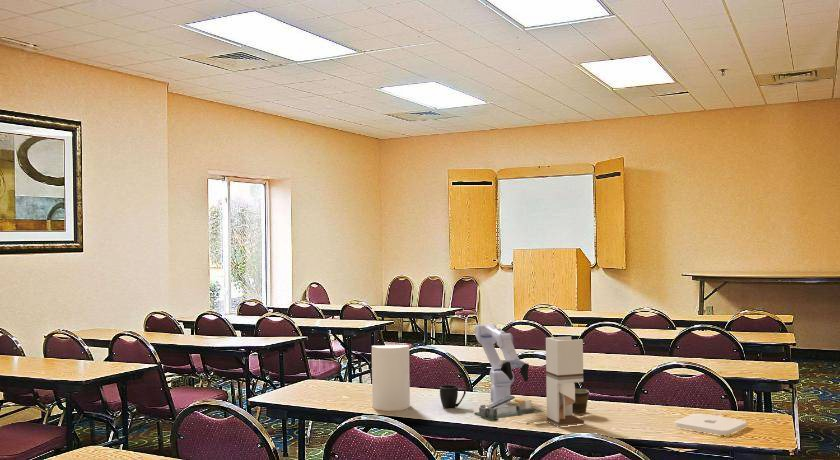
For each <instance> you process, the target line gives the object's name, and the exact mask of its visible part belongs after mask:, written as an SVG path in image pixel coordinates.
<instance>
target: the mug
mask: <svg viewBox="0 0 840 460" xmlns="http://www.w3.org/2000/svg"><path fill="white" fill-rule="evenodd" d="M461 390H462V391H463V394H462V396H461V398H460V400H459V402H457V401H458V395H459V391H461ZM466 392H467V390H466V388H461V387H460V388H459V387H458V385H453V384H444V385H439V396H440V401H441V406H442V408H443V409H445V408H446V410H447V409H448V410H450V409H452V410H453V409H455V408H458V407H459V405H461V403H462V401H463V399H464V397H465V396H466Z"/></svg>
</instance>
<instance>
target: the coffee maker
mask: <svg viewBox="0 0 840 460" xmlns="http://www.w3.org/2000/svg"><path fill="white" fill-rule="evenodd" d="M583 343H584V341H583V339H582V338H580V339H572V336H557V337H555V336H551V337H545V373H546V374H545V375H546V376H545V377H546V378H545V379H546V381H545V382H546V385H545V386H546V388H545V389H546V422H547V421H548V422H550V423H552V424H555V425H556V426H558V427H560V426H568V425H577V424H584V425H585V420H583V419H582V418H579V417H578V416H575V415H573V414H574V413H573V411H572V404H573V403H575V389H576V387H575V386H576V385H575V384H576V383H583V382H584V344H583ZM548 422H547V423H548ZM550 423H549V424H550ZM552 424H551V425H552ZM556 426H555V427H556ZM558 427H557V428H558Z"/></svg>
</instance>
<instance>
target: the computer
mask: <svg viewBox="0 0 840 460" xmlns="http://www.w3.org/2000/svg"><path fill="white" fill-rule="evenodd" d="M747 423H748V422H747V421H745V420H744V419H738V418H731V417H725V416H719V415H714V414H712V415H711V414H707V413H706V414H705V413H693V414H690V415H687V416H684V417H682V418H679V419H676V420H674V427H675V426H676V427H680V428H686V429H692V430H697V431H702V432H707V433H713V434H718V435H729V434H731V433H733V432H735V431H738V430H740V429H742V428H744V427H746V426H747V425H748V424H747Z"/></svg>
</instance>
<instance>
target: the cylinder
mask: <svg viewBox="0 0 840 460" xmlns="http://www.w3.org/2000/svg"><path fill="white" fill-rule="evenodd" d="M410 378H411V376H410V345H407V344H406V345H404V344H402V345H401V344H400V345H396V344H395V345H394V344H393V345H371V379H372V380H371V387H372V389H371V393H372V395H371V398H372V399H371V402H372V408H373V409H374V410H378V411H386V412H387V411H388V412H389V411H390V412H393V411H401V410H403V411H404V410H405V409H406V408H407V409H409V408H410V405H411V397H410V396H411V394H410V393H411V391H410V390H411V388H410V387H411V381H410ZM408 407H409V408H408Z"/></svg>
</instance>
